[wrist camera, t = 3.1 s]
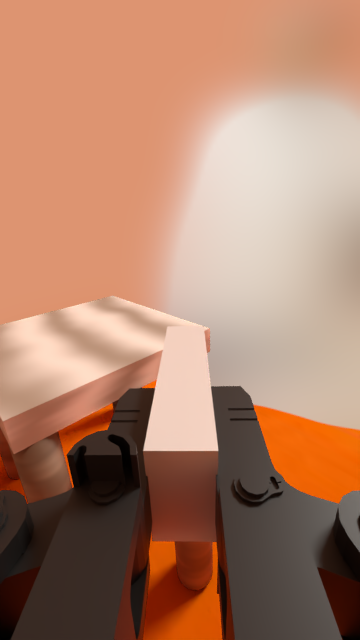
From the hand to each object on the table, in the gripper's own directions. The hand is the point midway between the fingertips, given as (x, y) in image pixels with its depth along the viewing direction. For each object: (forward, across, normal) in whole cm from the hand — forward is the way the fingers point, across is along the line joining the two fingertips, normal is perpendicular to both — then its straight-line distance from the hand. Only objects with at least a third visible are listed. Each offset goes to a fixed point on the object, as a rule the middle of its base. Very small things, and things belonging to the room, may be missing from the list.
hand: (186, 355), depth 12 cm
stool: (+15, -10, -23) cm, 30 cm away
